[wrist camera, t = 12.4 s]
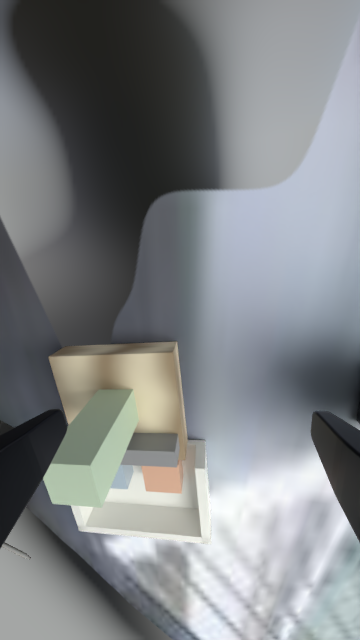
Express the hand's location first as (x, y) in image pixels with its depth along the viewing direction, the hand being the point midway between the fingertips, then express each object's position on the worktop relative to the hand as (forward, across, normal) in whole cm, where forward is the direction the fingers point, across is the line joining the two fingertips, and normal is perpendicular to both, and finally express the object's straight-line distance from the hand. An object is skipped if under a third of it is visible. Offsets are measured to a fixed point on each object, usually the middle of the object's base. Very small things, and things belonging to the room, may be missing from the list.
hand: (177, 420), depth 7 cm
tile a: (+12, +5, +17) cm, 21 cm away
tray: (+12, +8, +20) cm, 25 cm away
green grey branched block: (+10, +8, +9) cm, 16 cm away
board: (+12, +8, +8) cm, 17 cm away
